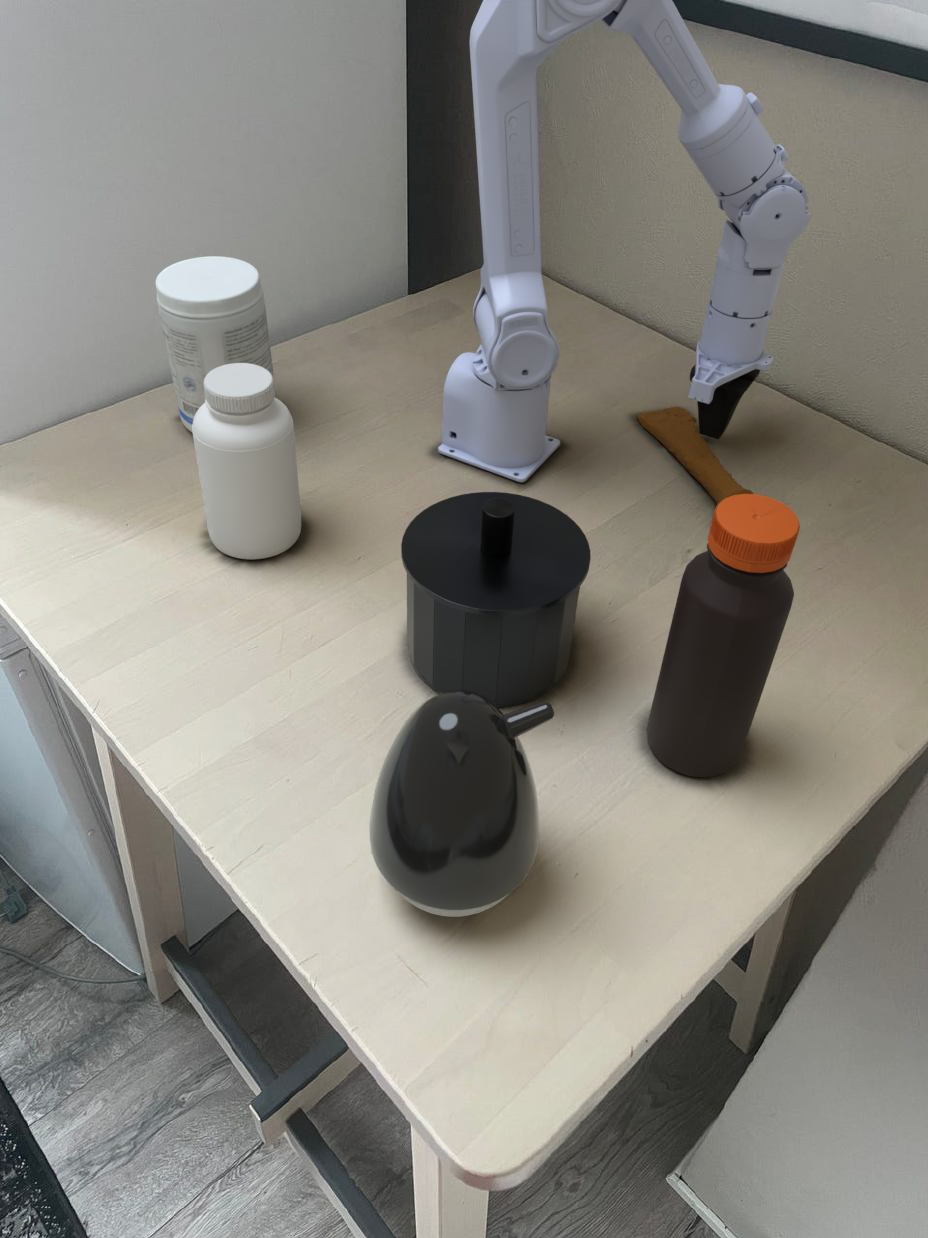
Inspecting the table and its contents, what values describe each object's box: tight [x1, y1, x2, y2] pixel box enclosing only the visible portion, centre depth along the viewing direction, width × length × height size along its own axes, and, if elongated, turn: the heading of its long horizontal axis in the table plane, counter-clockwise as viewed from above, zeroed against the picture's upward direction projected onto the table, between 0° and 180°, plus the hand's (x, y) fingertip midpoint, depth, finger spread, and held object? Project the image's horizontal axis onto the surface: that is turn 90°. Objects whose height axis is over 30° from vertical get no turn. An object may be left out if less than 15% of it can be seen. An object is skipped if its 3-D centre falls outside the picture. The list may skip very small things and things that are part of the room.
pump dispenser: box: [368, 690, 555, 918], centre depth 59 cm, size 10×10×15 cm
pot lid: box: [400, 491, 592, 616], centre depth 72 cm, size 13×13×5 cm
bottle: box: [645, 493, 801, 778], centre depth 66 cm, size 7×7×20 cm
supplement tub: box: [155, 255, 277, 434], centre depth 97 cm, size 10×10×15 cm
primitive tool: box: [636, 406, 754, 506], centre depth 98 cm, size 19×6×4 cm, turn 16°
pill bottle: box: [191, 363, 302, 560], centre depth 84 cm, size 8×8×15 cm
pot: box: [406, 573, 581, 708], centre depth 76 cm, size 12×12×10 cm
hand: (710, 433), depth 101 cm, fingers closed
